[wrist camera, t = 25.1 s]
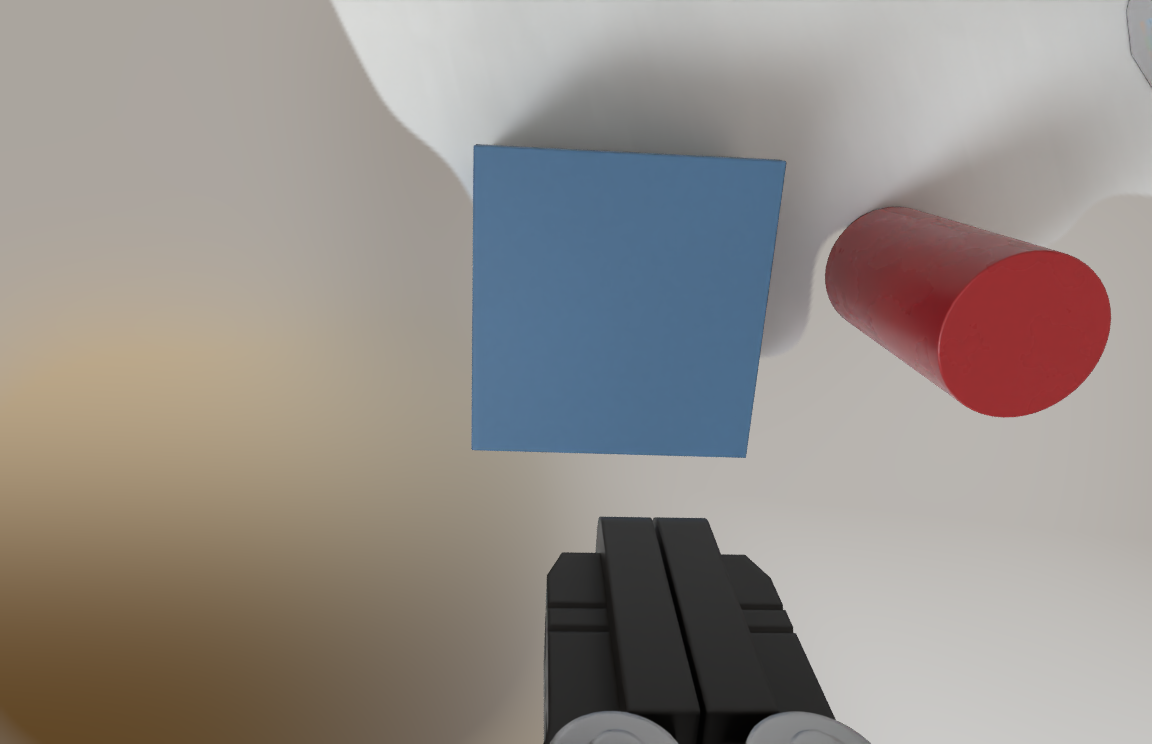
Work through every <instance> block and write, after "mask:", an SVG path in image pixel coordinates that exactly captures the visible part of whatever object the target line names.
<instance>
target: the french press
mask: <svg viewBox="0 0 1152 744" xmlns="http://www.w3.org/2000/svg"><path fill="white" fill-rule="evenodd" d="M1127 19H1128V27H1129V36H1130V45H1131V54H1132V56H1133V58H1134V59H1135V61H1136V62H1137V64H1138V66H1139V67H1140V69H1141V71H1142V72H1143V74H1144V75H1145V77H1146V79H1147V80H1148V82H1149V84H1150V85H1151V87H1152V0H1129V4H1128V8H1127Z"/></svg>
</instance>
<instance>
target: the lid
mask: <svg viewBox="0 0 1152 744" xmlns="http://www.w3.org/2000/svg"><path fill="white" fill-rule="evenodd" d="M785 168H786V161H782V160H775V159H755V158H735V157H716V156H696V155H677V154H657V153H637V152H618V151H598V150H579V149H559V148H539V147H520V146H500V145H481V144H476V145H474V168H473V316H472V450H488V451H489V450H490V451H525V452H559V453H561V452H562V453H563V452H564V453H595V454H596V453H597V454H630V455H667V456H703V457H738V458H740V457H741V458H746V453H747V445H748V438H749V431H750V424H751V415H752V409H753V402H754V394H755V387H756V380H757V372H758V365H759V358H760V351H761V343H762V336H763V329H764V321H765V314H766V307H767V300H768V292H769V285H770V278H771V270H772V263H773V256H774V249H775V241H776V234H777V227H778V219H779V212H780V205H781V197H782V190H783V183H784V176H785Z"/></svg>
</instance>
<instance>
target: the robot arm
mask: <svg viewBox="0 0 1152 744" xmlns="http://www.w3.org/2000/svg"><path fill="white" fill-rule="evenodd" d="M546 592H547V593H546V618H545V646H544V744H871V743H870V742H869V741H867V740H866V739H865V738H864V737H863V736H861V735H860V734H859V733H857V732H856V731H854V730H853V729H852V728H850V727H848V726H846V725H844V724H843V723H841V722H839V721H836V719H835V717H834V715H833V713H832V711H831V709H830V707H829V704H828V702H827V700H826V698H825V696H824V693H823V691H822V689H821V687H820V685H819V683H818V680H817V678H816V676H815V674H814V672H813V669H812V667H811V665H810V663H809V661H808V659H807V656H806V654H805V652H804V650H803V648H802V646H801V643H800V641H799V639H798V637H797V635H796V634H795V633H793V626H792V624H791V622H790V619H789V617H788V615H787V613H786V611H785V610H783V605H782V602H781V600H780V598H779V596H778V593H777V591H776V589H775V587H774V585H773V582H772V580H771V578H770V577H769V576H768V575H767V574H766V573H764V572H763V571H762V570H761V569H760V568H759V567H758V566H757V565H756V564H755V563H753V562H752V561H751V560H750V559H749V558H748V557H747V556H746V555H721V554H720V551H719V548H718V546H717V543H716V540H715V538H714V535H713V532H712V530H711V528H710V525H709V522H708V520H707V519H705V518H654V519H653V521H652V519H651V518H641V517H599V520H598V527H597V540H596V553H562V554H561V555H560V557H559V558H558V560H557V561H556V563H555V564H554V566H553V567H552V569H551V570H550V572H549V573H548V575H547V590H546Z"/></svg>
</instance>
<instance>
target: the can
mask: <svg viewBox="0 0 1152 744" xmlns="http://www.w3.org/2000/svg"><path fill="white" fill-rule="evenodd" d="M825 284H826V289H827V293H828V296H829V299H830V301H831V303H832V305H833V307H834V308H835V310H836V311H837V312H838V313H839V314H840V315H841V316H842V317H843V318H844V319H845V320H847V321H848V322H849V323H851V324H852V325H853V326H855V327H856V328H858V329H859V330H860V331H862V332H863V333H865V334H866V335H867V336H869V337H870V338H872V339H873V340H874V341H876V342H877V343H878V344H880V345H881V346H883V347H884V348H885V349H887V350H888V351H890V352H891V353H892V354H894V355H895V356H897V357H898V358H899V359H901V360H902V361H904V362H905V363H906V364H908V365H909V366H910V367H912V368H913V369H914V370H916V371H917V372H919V373H920V374H921V375H923V376H924V377H926V378H927V379H929V380H930V381H931V382H933V383H934V384H935V385H937V386H938V387H939V388H941V389H942V390H944V391H945V392H947V393H948V394H949V395H951V396H952V397H953V398H955V399H956V400H957V401H959V402H960V403H962V404H963V405H965V406H966V407H968V408H970V409H971V410H973V411H976V412H978V413H981V414H984V415H989V416H994V417H1018V416H1024V415H1028V414H1032V413H1036V412H1039V411H1041V410H1043V409H1046V408H1048V407H1050V406H1052V405H1054V404H1056V403H1057V402H1059V401H1061V400H1062V399H1064V398H1065V397H1067V396H1068V395H1069V394H1071V393H1072V392H1073V391H1074V390H1076V389H1077V388H1078V387H1079V386H1080V385H1081V384H1082V383H1083V382H1084V381H1085V379H1086V378H1087V377H1088V376H1089V374H1090V373H1091V372H1092V371H1093V369H1094V368H1095V366H1096V364H1097V363H1098V361H1099V359H1100V357H1101V355H1102V353H1103V351H1104V349H1105V346H1106V343H1107V340H1108V336H1109V331H1110V323H1111V309H1110V303H1109V298H1108V295H1107V292H1106V290H1105V287H1104V286H1103V284H1102V282H1101V280H1100V279H1099V277H1098V276H1097V275H1096V273H1094V271H1093V270H1092V269H1091V268H1090V267H1089V266H1088V265H1086V264H1085V263H1083V262H1082V261H1080V260H1079V259H1077V258H1075V257H1073V256H1070V255H1068V254H1065V253H1061V252H1058V251H1055V250H1051V249H1048V248H1045V247H1041V246H1038V245H1034V244H1031V243H1027V242H1024V241H1021V240H1017V239H1014V238H1010V237H1007V236H1003V235H1000V234H997V233H993V232H990V231H986V230H983V229H980V228H976V227H973V226H969V225H966V224H962V223H959V222H956V221H952V220H949V219H945V218H942V217H938V216H935V215H932V214H928V213H925V212H921V211H918V210H914V209H911V208H906V207H887V208H881V209H878V210H874V211H872V212H870V213H867V214H865V215H864V216H862V217H860V218H858V219H857V220H856V221H854V222H853V223H852V224H851V225H850V226H849V227H847V228H846V229H845V230H844V232H843V233H842V234H841V235H840V236H839V238H838V239H837V241H836V242H835V244H834V246H833V248H832V250H831V252H830V255H829V258H828V261H827V265H826V273H825Z"/></svg>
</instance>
